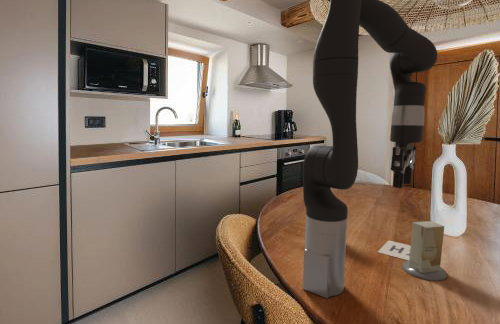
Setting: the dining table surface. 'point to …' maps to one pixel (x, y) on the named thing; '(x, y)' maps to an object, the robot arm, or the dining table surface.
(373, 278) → the dining table surface
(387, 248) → the card
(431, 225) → the skincare box
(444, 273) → the slate coaster
